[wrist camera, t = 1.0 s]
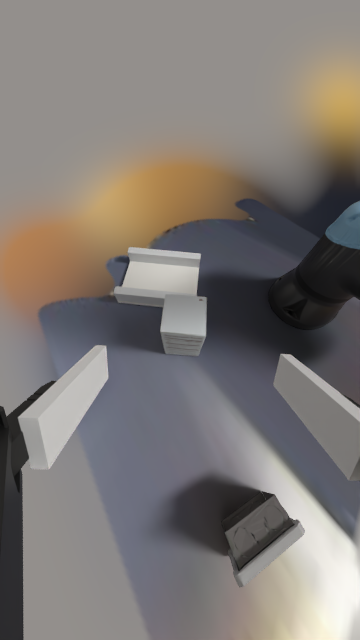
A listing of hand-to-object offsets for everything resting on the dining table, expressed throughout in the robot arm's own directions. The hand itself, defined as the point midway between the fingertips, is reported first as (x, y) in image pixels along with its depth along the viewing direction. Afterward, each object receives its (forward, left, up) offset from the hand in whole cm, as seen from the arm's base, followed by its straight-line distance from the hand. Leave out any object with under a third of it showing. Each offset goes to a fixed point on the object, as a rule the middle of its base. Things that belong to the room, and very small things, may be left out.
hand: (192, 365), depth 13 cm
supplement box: (0, -11, -24) cm, 27 cm away
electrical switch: (-10, +17, -24) cm, 31 cm away
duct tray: (+6, -27, -24) cm, 37 cm away
